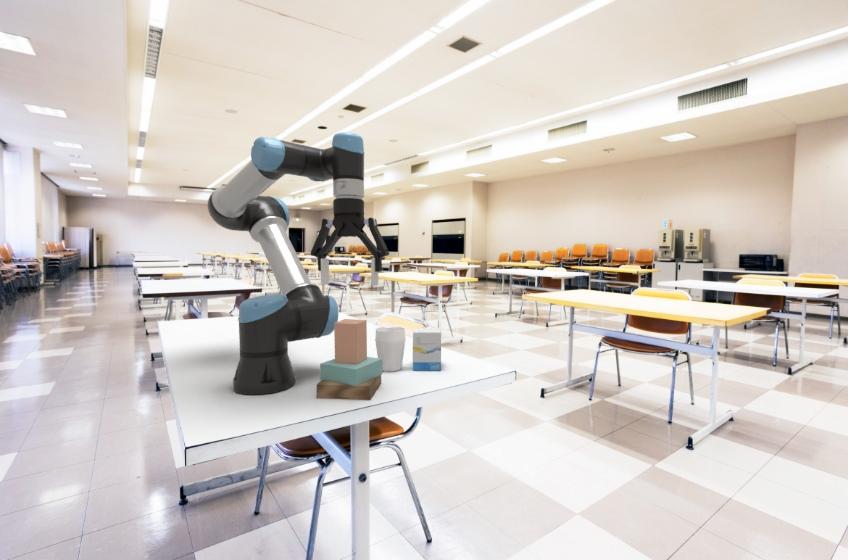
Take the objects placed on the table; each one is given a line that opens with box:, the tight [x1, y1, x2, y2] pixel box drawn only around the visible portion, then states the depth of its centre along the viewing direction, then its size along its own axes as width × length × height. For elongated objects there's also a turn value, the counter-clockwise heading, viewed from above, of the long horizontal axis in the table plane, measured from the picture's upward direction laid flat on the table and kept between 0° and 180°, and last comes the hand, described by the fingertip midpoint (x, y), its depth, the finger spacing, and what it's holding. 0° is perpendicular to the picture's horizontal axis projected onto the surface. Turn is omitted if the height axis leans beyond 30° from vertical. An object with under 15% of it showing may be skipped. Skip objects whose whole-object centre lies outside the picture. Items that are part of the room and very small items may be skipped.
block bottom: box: [316, 375, 382, 401], centre depth 103 cm, size 13×13×4 cm
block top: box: [319, 356, 383, 386], centre depth 103 cm, size 11×11×4 cm
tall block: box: [333, 318, 368, 365], centre depth 103 cm, size 6×6×10 cm
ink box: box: [412, 326, 442, 372], centre depth 125 cm, size 9×8×12 cm
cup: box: [374, 326, 407, 373], centre depth 123 cm, size 9×9×12 cm
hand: (349, 284), depth 102 cm, fingers open, 13 cm apart
